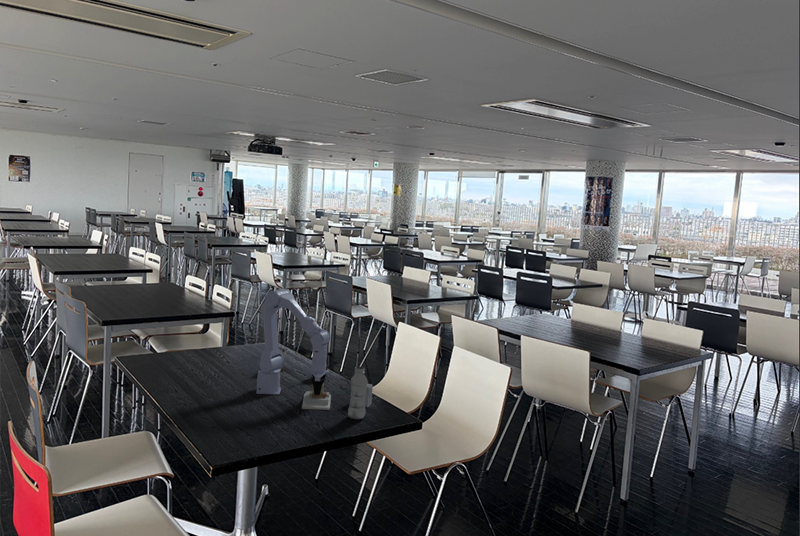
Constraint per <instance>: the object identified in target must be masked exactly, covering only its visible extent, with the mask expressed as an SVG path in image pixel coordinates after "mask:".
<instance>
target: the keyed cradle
mask: <svg viewBox="0 0 800 536" xmlns="http://www.w3.org/2000/svg"><path fill="white" fill-rule="evenodd" d="M326 392H327V397H325V399H320V398H312V390H309V391H308V390H307V391H305V393H304V395H303V400H302V404H301V409H302V410H319V411H321V410H324V411H330V410H331V400H332V394H330V391H326Z"/></svg>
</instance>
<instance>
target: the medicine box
mask: <svg viewBox="0 0 800 536" xmlns="http://www.w3.org/2000/svg"><path fill="white" fill-rule="evenodd" d="M373 386H374V385H373V384H372V383H371V384H370V383H367V388H366V393H365V408H369V407H370V406H372V404H373V403H372V402H373V401H372V400H373Z"/></svg>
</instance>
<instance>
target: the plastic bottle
mask: <svg viewBox="0 0 800 536" xmlns="http://www.w3.org/2000/svg"><path fill="white" fill-rule="evenodd" d="M365 373H366V371H365V367H363V366H356V367H354V374H353V376H351V379H350V399H349V400H350V401H349V406H348V409H347V414H348V417H349V419H353V420H361V419H364V417H365V415H366V407H365V393H366V388H367V384H369V381H368V378H367V377H366V375H365Z"/></svg>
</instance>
